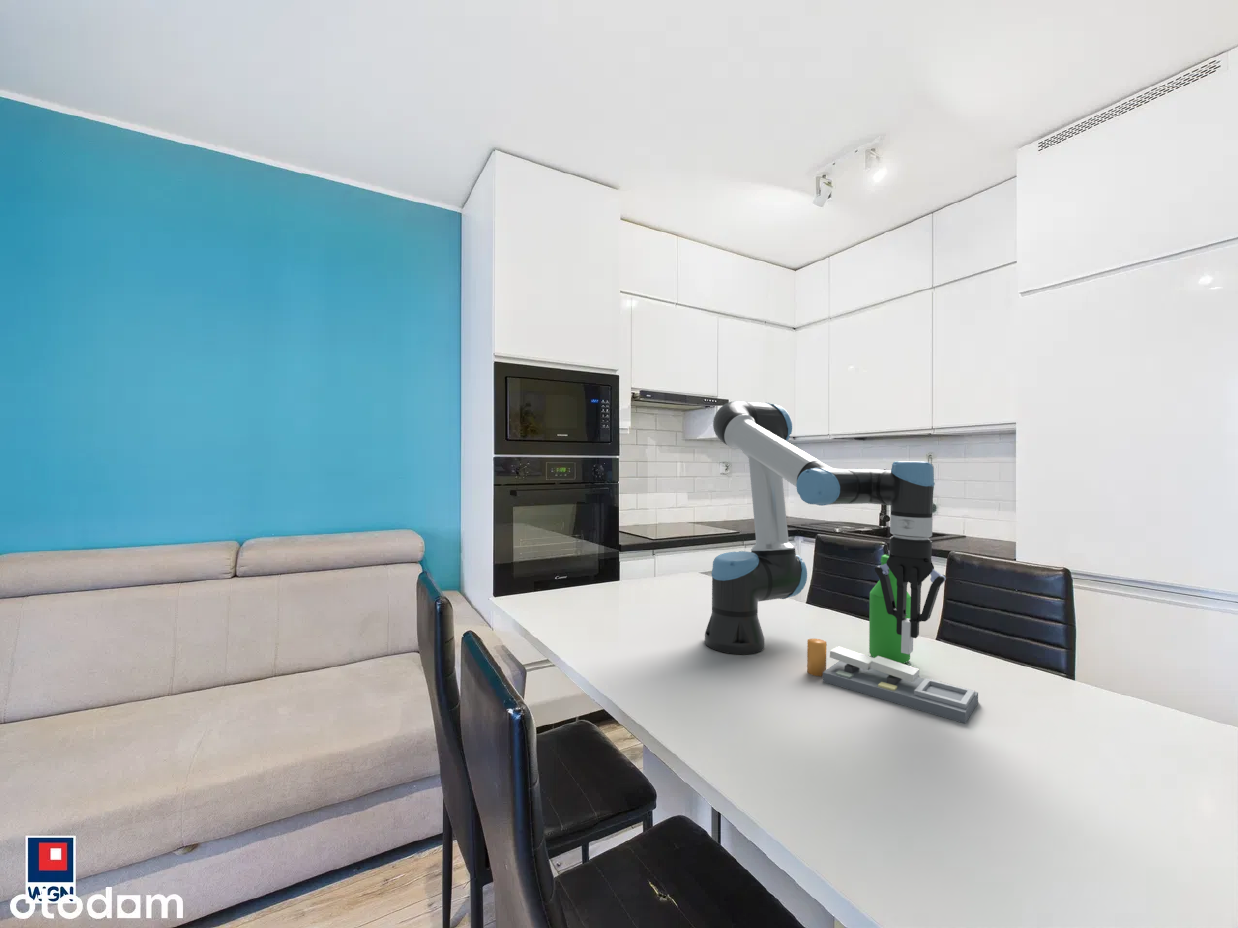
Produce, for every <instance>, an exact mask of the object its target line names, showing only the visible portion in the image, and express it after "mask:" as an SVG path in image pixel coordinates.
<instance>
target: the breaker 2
mask: <svg viewBox="0 0 1238 928" xmlns="http://www.w3.org/2000/svg"><path fill="white" fill-rule="evenodd" d="M873 658H874V657H873ZM870 668H872V669H875V670H878V671H881V672H884V673H886V674H889V675H892V676H895V677H898V678H901V679H904V680H907V681H910V682H913V681H914V680H915V679H916V678H917V677H920V669H919V668H917V667H914V666H910V665H907V664H905V663H904V664H902V663H899V662H896V661H893V660H890V659H887V658H884V657H881V656H877V657H875V658H874V659H873V660H872V661H871V665H870Z"/></svg>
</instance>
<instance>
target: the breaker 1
mask: <svg viewBox="0 0 1238 928" xmlns="http://www.w3.org/2000/svg"><path fill="white" fill-rule="evenodd" d="M829 658H831V659H832V660H833V659H834V660H836V661H838V662H839V661H842V662H844V663H847V664H850V665H853V666H856V667H858V668H861V669H864V670H867V671H868V670H869V669H870V665H871V661H872V660H873V659H874V657H873V656H871V655H870V656H869V655H867V654H863V653H860V652H857V651H854V650H852V649H848V648H845V647H843V646H839V645H838V646H837V645H836V646H835V647H834V648H832V649H831V650H830V651H829Z"/></svg>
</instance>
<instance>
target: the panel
mask: <svg viewBox="0 0 1238 928" xmlns="http://www.w3.org/2000/svg"><path fill="white" fill-rule="evenodd" d="M822 682H823V683H826V684H830V685H833V686H836V687H841V688H843V689H847V690H851V691H854V692H857V693H860V694H864V695H867V696H870V697H874V698H877V699H881V700H885V701H887V702H891V703H893V704H894V703H895V704H898V705H901V706H905V707H908V708H911V709H913V710H919V711H922V712H925V713H927V714H931V715H935V716H938V717H940V718H941V717H942V718H944V719H949V720H952V721H956V722H959V723H962V724H966V723H967V721H968V719H969V718H970V717H971V715H972V713H973V711H974V710H975V709H976V707H977V706H978V703H979V691H976V690H974V689H970V688H967V687H962V686H958V685H955V684H950V683H946V682H942V681H939V680H935V679H932V678H927V677H926V678H923V677H920V676H918V677H917V678H916V679H915V680H914V681H913V682H910V681H907V680H904V679H901V678H898V677H895V676H892V675H889V674H886V673H884V672H881V671H878V670H875V669H872V668H870V669H869V670H868V671H867V670H864V669H861V668H858V667H856V666H853V665H850V664H847V663H844V662H842V661H839V660H838V661H837V662H835V663H834V664H833V665H831V666H830V667H828V668H826V670H825V671H824V672H823V676H822Z"/></svg>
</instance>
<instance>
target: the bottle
mask: <svg viewBox="0 0 1238 928" xmlns="http://www.w3.org/2000/svg"><path fill="white" fill-rule="evenodd" d="M888 558H889V554H882V555H881V558H880V563H881V564H880V565H884V564H886V561H887V559H888ZM888 575H889V578H890V582H891V586H892V591H893V595H894V600H895V604H896V605H897V579H896V578H895V576H894V575H893V573H892V572H891V570H890V569H889V574H888ZM910 607H911V594H909V592H908V591H907V601H906V614H907V616H905V618H908V619H910ZM868 620H869V624H868V627H869V629H868V630H869V631H868V635H869V636H868V637H869V639H868V641H869V642H868V643H869V645H868V646H869V647H868V648H869V650H868V651H869V654H870V656H871V657H873V658H875V657H877V656H881V657H884V658H887V659H890V660H893V661H896V662H899V663H902V664H905V663H907V662H909V661H910V659H911V653H910V654H905V653H901V638H902V635H899V634H897V632H896V629H897V628H896V627H897V619H896V617H895V616H893V615H890V614H888V613H887V610H886V605H885V601H884V596H883V592H882V587H881V583H880V579H879V580H878V581H877V583H876V584H875V585H874V587H872V589H871V590H870V591H869V619H868Z"/></svg>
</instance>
